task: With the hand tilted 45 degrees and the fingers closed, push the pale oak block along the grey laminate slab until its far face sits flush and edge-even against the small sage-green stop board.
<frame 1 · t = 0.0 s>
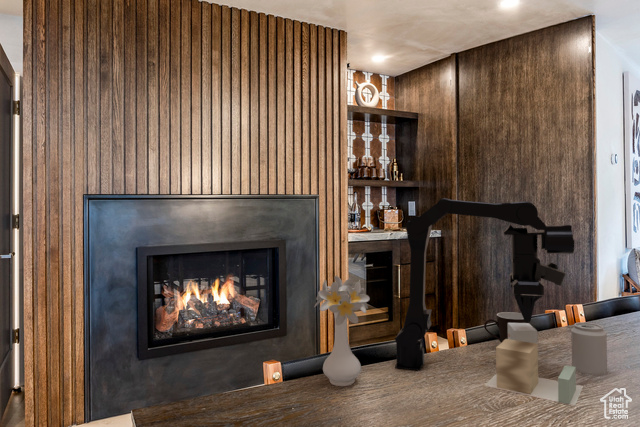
hand: (525, 317, 106), 15 cm above the table, tool pointing down, fingers open, 9 cm apart
small box: (522, 367, 114), on the table
flower vase: (344, 383, 106), on the table
can: (589, 373, 109), on the table
oak block: (517, 384, 100), point 1 cm above the table, touching laminate slab
coffee mug: (507, 349, 128), on the table
laminate slab: (533, 390, 99), on the table
stop board: (567, 395, 94), resting on laminate slab
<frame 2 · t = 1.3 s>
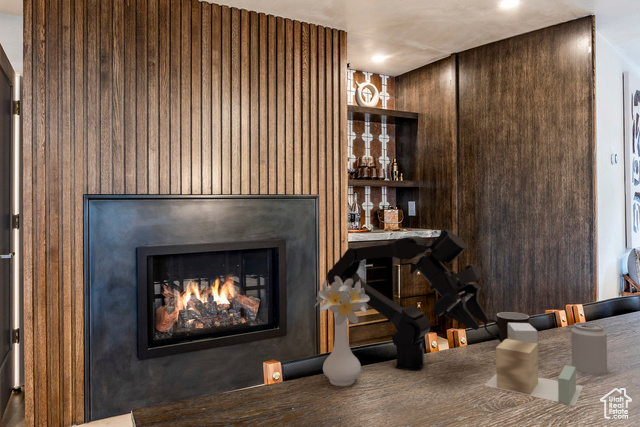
hand: (482, 325, 105), 13 cm above the table, tool tilted 45°, fingers open, 7 cm apart
nothing on the table moved.
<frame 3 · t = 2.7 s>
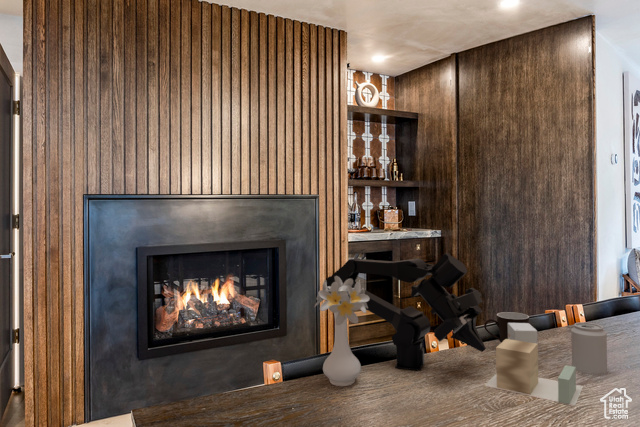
hand: (484, 350, 105), 8 cm above the table, tool tilted 45°, fingers closed
nothing on the table moved.
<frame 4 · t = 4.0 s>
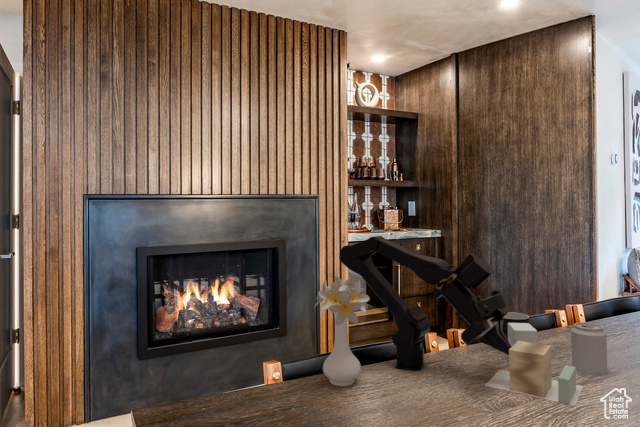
hand: (512, 354, 101), 8 cm above the table, tool tilted 45°, fingers closed, pressing on oak block
oak block: (531, 387, 98), point 1 cm above the table, touching gripper, laminate slab
everything else where it was.
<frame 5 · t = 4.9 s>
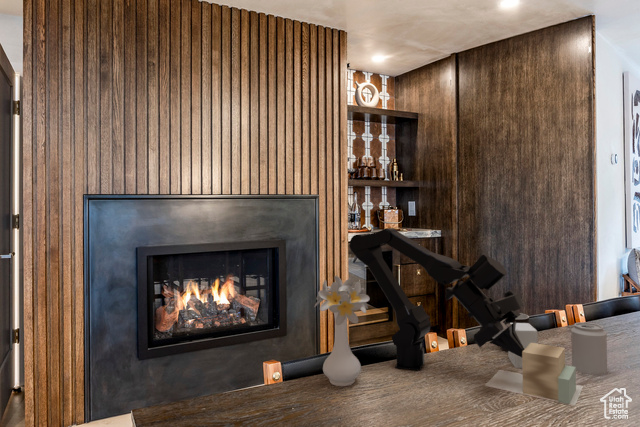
hand: (525, 356, 99), 8 cm above the table, tool tilted 45°, fingers closed, pressing on oak block
oak block: (544, 390, 97), point 1 cm above the table, touching gripper, laminate slab, stop board
everything else where it was.
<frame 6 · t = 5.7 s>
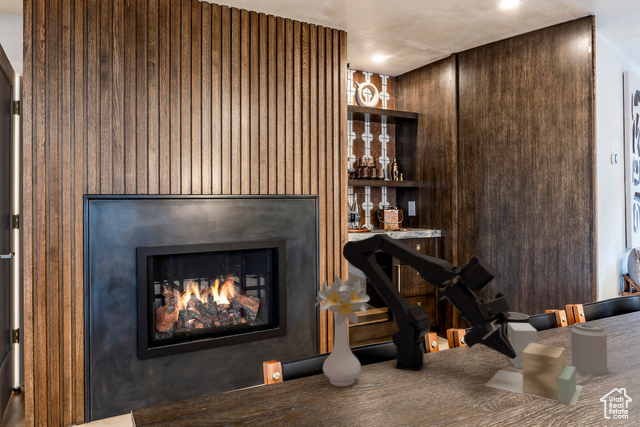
hand: (515, 357, 100), 7 cm above the table, tool tilted 45°, fingers closed
oak block: (544, 390, 97), point 1 cm above the table, touching laminate slab
everything else where it was.
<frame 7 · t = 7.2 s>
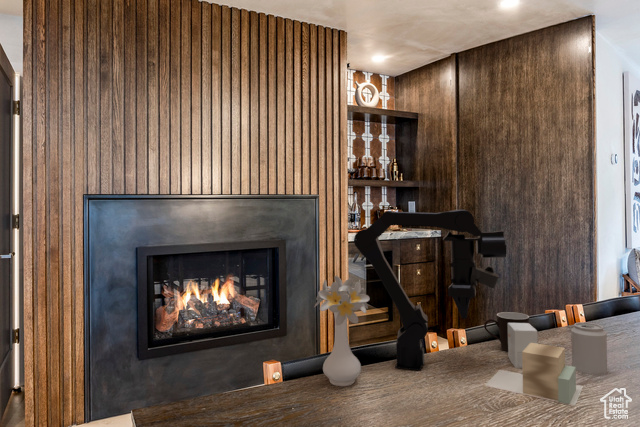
hand: (464, 318, 113), 13 cm above the table, tool pointing down, fingers closed
nothing on the table moved.
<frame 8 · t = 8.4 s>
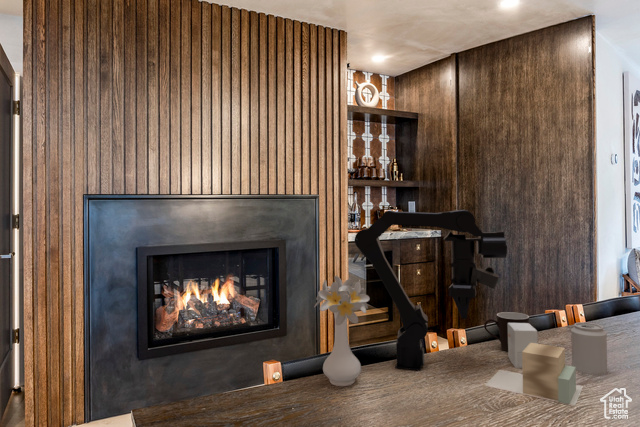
hand: (464, 318, 113), 13 cm above the table, tool pointing down, fingers closed
nothing on the table moved.
at the end: oak block 0.5 cm from the target spot on the table beside the stop board, resting on laminate slab; oak block tilted 0°; oak block moved 5.5 cm from its start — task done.
